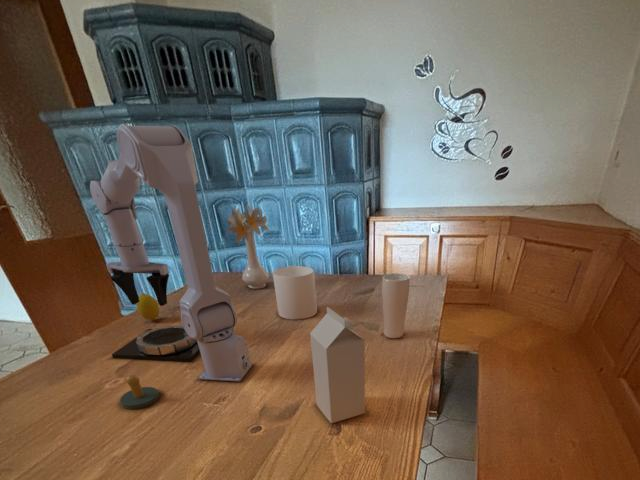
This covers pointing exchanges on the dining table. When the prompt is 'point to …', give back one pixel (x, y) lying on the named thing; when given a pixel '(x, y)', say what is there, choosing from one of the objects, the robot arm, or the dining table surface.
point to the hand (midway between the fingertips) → (149, 303)
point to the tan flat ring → (164, 348)
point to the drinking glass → (394, 303)
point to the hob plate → (182, 356)
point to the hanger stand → (138, 395)
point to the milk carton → (338, 367)
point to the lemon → (147, 307)
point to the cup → (295, 292)
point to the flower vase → (250, 243)
